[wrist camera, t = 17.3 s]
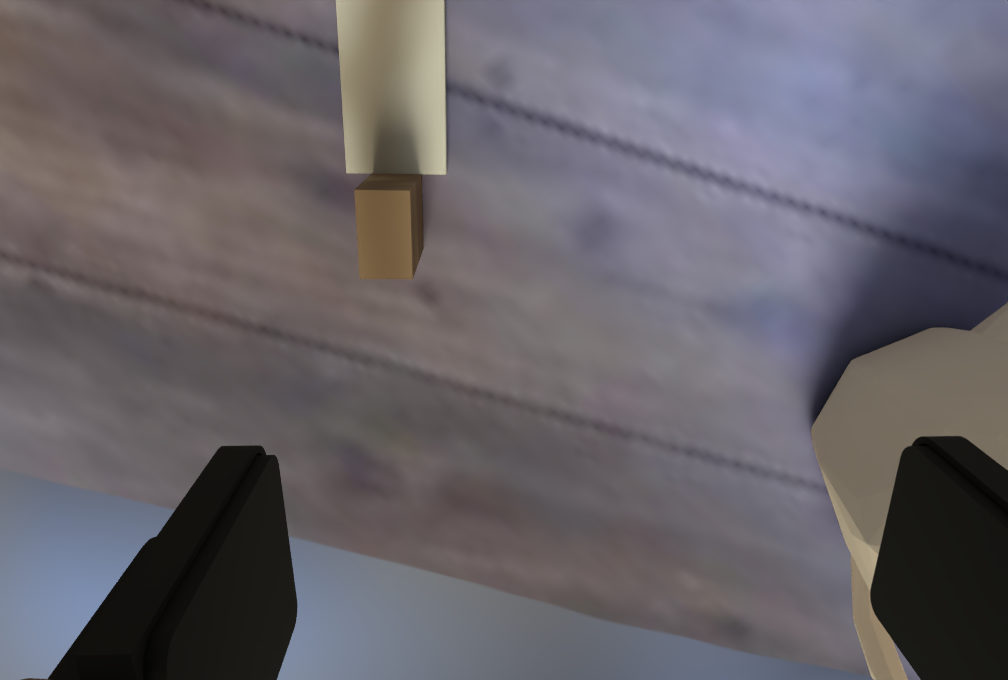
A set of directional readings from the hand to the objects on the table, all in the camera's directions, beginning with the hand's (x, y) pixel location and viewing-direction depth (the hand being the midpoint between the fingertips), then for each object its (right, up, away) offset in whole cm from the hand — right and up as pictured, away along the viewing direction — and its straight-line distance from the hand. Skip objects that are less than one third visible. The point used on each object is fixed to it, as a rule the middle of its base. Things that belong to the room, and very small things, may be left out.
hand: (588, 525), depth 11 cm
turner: (-7, +15, +24) cm, 29 cm away
